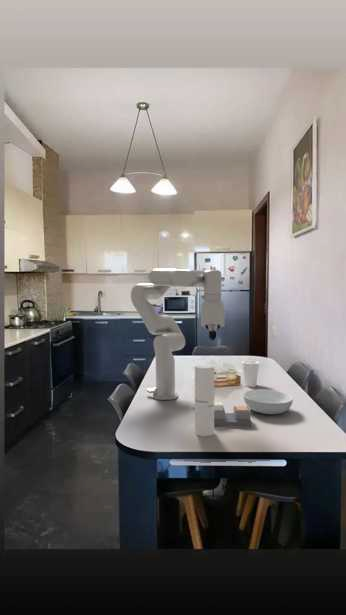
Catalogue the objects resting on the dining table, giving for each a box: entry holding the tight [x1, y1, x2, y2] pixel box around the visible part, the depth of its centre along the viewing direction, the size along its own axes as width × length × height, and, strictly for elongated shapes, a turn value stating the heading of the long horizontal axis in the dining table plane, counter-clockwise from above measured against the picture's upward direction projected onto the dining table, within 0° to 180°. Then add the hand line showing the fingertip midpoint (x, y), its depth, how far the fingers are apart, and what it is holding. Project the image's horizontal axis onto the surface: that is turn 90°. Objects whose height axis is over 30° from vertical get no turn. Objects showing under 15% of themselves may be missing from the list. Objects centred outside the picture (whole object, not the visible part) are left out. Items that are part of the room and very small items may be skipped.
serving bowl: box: [243, 388, 294, 415], centre depth 159 cm, size 21×21×7 cm
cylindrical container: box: [194, 363, 215, 437], centre depth 135 cm, size 7×7×25 cm
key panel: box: [214, 405, 253, 428], centre depth 146 cm, size 16×10×6 cm, turn 88°
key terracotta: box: [235, 405, 249, 411], centre depth 145 cm, size 4×4×3 cm
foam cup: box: [241, 360, 260, 388], centre depth 201 cm, size 10×9×13 cm
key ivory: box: [214, 401, 224, 411], centre depth 146 cm, size 4×4×3 cm
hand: (212, 339), depth 160 cm, fingers closed
